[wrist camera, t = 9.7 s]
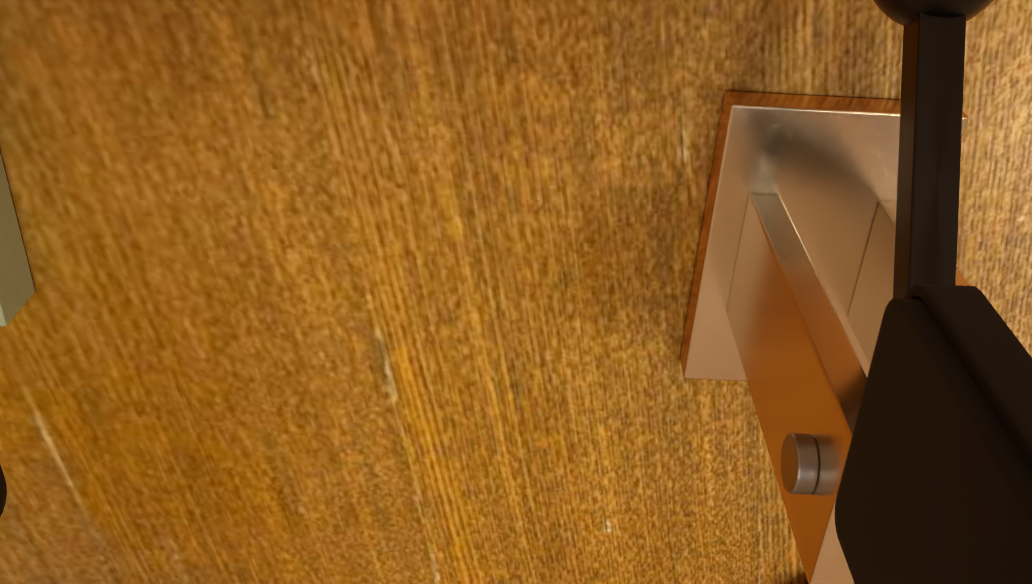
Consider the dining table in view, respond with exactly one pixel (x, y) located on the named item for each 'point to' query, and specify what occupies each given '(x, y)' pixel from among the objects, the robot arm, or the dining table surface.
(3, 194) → the button block
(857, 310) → the switch bracket
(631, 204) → the dining table surface
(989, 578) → the robot arm
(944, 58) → the switch lever
